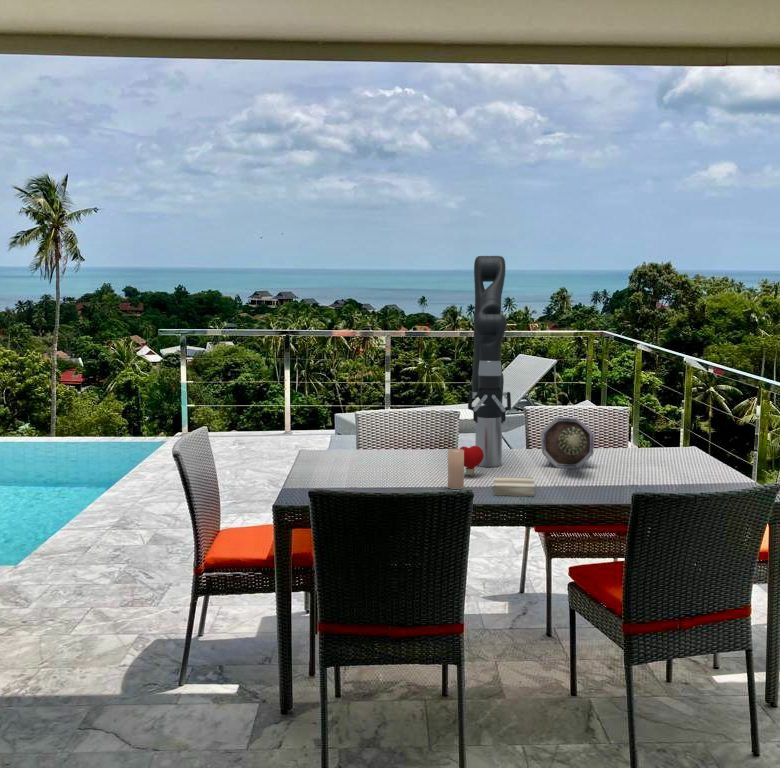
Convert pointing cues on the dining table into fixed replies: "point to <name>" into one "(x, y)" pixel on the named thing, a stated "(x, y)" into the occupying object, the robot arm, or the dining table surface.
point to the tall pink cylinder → (455, 468)
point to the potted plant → (567, 442)
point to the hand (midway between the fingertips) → (489, 422)
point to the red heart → (472, 458)
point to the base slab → (514, 486)
